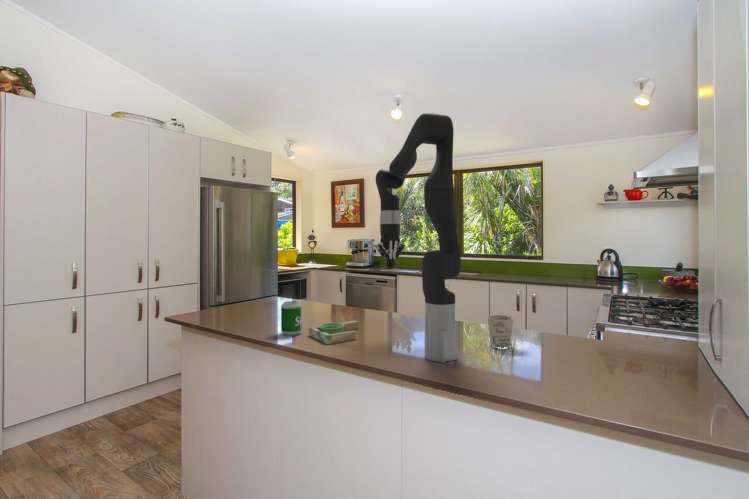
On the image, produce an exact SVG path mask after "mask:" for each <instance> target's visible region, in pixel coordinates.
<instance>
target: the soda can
mask: <svg viewBox="0 0 749 499" xmlns="http://www.w3.org/2000/svg"><path fill="white" fill-rule="evenodd" d="M280 312H281V314H280V315H281V316H280V318H281V319H280V321H281V322H280V323H281V324H280V327H281V328H280V330H281V331H280V332H281V333H282V334H283V336H288V337H289V336H290V337H293V336H298V335H299V334H301V332H302V331H303V330H302V304H301V303H300V301H297V300H294V301H293V300H292V301H291V300H290V301H288V300H287V301H284V302H283V303H282V304H281V306H280Z"/></svg>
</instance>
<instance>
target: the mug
mask: <svg viewBox="0 0 749 499" xmlns="http://www.w3.org/2000/svg"><path fill="white" fill-rule="evenodd" d="M513 325H514V317H512V316H509V315H503V314H502V315H501V314H493V315H488V316H487V326H488V333H489V342H490V347H491V346H494V347H501V348H504V347H509V348H510V345H511V340H512V339H511V338H512V334H513V333H512V332H513Z"/></svg>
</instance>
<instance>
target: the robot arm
mask: <svg viewBox="0 0 749 499" xmlns="http://www.w3.org/2000/svg"><path fill="white" fill-rule="evenodd" d="M422 144H425V145H435V149H436V151H435V152H436V153H435V157H436V158H435V163H434V165H433V167H432V169H431V171H430V173H429V175H428V177H427V178H426V180H425V184H424V186H423V192H424V194H423V195H424V198H423V199H424V208H425V212H426V214H427V216H428V219H429V220H430V221H431V223H432V225H433V227H434V229H435V231H436V233H437V237H438V242H439V243H438V246H439V249H433V250H429V251H427V252H425V254H424V256H423V257H422V262H421V284H422V292H423V295H424V296H423V297H424V353H423V354H424V358H425V359H427V360H428V361H432V362H436V361H437V362H438V363H442V364H443V363H444V364H445V363H447V361H448V362H451V361H457V359H458V328H456V294H455V292H453V291H450V290H448V289H447V287H446V280H453V279H456V278H457V277H458V276H459V274H460V273H461V269H462V257H461V251H460V245H459V239H458V228H457V221H456V219H457V218H456V202H455V201H456V199H455V198H456V196H455V186H454V185H455V184H454V170H453V169H454V168H453V166H454V165H453V156H454V155H453V153H454V152H453V150H454V123H453V120H452V118H451V117H450V116H449V115H448V114H447V115H446V114H441V113H433V112H423V113H421V114H420V115H419V116H418V117H417V118H416V120H415V122H414V124H413V125H412V127H411V129H410V131H409V133H408V135H407V137H406V139H405V141H404V143H403V146H402V147H401V149H400V151H398V153H397V154H396V156H395V157H394V158H393V159H392V161H391V162H390V164H389V168H388V169H384V168H382V169H379V170H378V171H377V172H376V174H375V186H376V188H377V191H378V195H379V200H380V215H379V228H380V229H379V230H380V231H379V232H380V233H379V234H380V240H379V243H377V244H375V246H374V247H375V249H376V250H377V252H378V253H379V254H380V256H381V257H382V258H384V259H385V260H386V261H385V262H386V266H385V267H386V268H387V270H394V268H395V266H396V265H395V259H396V258H399V256H401V253H402V252H403V250H404V248H405V244H404V243H402V242H401V238H400V235H401V216H400V198H399V197H400V196H398V195H396V194H392V193H391V192H390V190H398V189H400V188H401V187H403V186H404V182H405V179H406V178H407V175H408V173H409V172H410V171H411V170H412V169H413V168H414V167H415V165H416V163H417V159H418V154H417V152H418V151H417V149H418V148H419V147H420V146H421V145H422ZM437 362H436V363H437Z"/></svg>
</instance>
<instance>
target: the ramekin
mask: <svg viewBox="0 0 749 499" xmlns="http://www.w3.org/2000/svg"><path fill="white" fill-rule="evenodd" d="M341 323H342V322H325V323H320V325H318V326H319V327H320V330H321V331H323V332H326V333H328V334H334V333H340V332H343V328H344V325H343V324H341Z"/></svg>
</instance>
